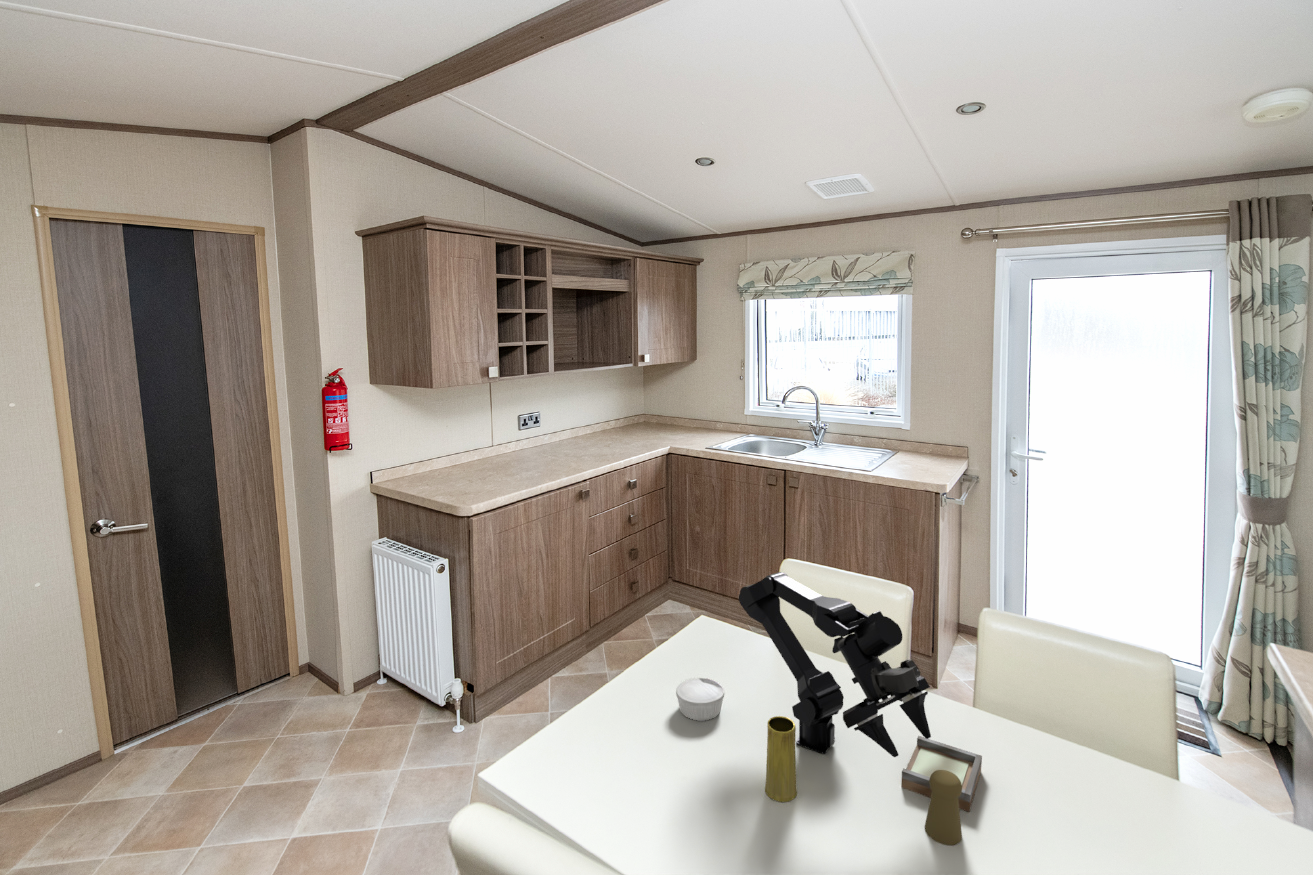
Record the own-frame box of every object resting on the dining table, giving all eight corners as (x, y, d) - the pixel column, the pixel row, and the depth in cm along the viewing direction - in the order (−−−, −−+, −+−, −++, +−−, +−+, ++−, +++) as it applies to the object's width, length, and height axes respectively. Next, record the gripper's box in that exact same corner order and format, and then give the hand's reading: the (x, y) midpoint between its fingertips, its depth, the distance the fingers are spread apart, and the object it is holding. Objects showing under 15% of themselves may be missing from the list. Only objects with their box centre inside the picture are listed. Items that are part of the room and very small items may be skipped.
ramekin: (732, 705, 154) (732, 684, 153) (710, 730, 145) (710, 708, 144) (691, 692, 160) (691, 672, 159) (667, 715, 150) (667, 694, 150)
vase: (778, 807, 121) (778, 737, 118) (758, 787, 126) (758, 720, 124) (803, 795, 123) (804, 727, 121) (783, 776, 129) (783, 710, 126)
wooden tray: (901, 787, 125) (901, 770, 124) (917, 750, 135) (918, 735, 135) (969, 812, 118) (970, 795, 118) (981, 771, 129) (982, 755, 128)
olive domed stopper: (954, 819, 116) (957, 764, 115) (967, 846, 110) (970, 788, 109) (920, 818, 117) (922, 763, 115) (930, 844, 111) (933, 787, 109)
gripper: (856, 664, 114) (908, 754, 107) (923, 635, 124) (974, 716, 116) (822, 685, 122) (868, 770, 115) (887, 657, 132) (933, 733, 124)
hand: (913, 747), depth 117 cm, fingers open, 9 cm apart
